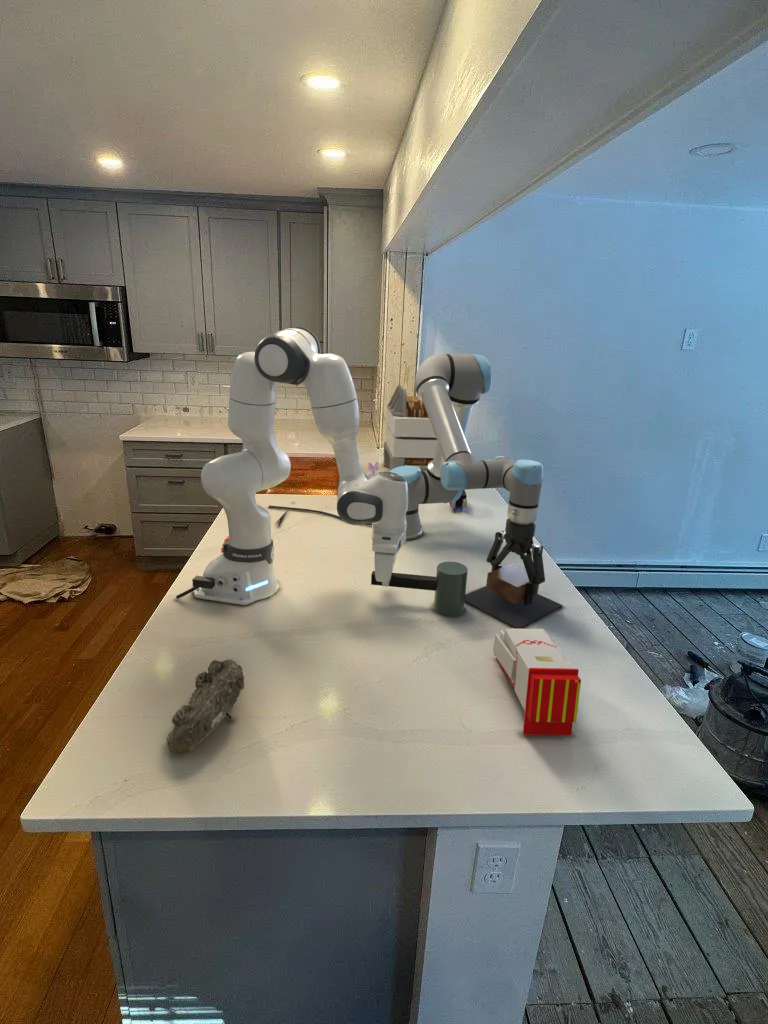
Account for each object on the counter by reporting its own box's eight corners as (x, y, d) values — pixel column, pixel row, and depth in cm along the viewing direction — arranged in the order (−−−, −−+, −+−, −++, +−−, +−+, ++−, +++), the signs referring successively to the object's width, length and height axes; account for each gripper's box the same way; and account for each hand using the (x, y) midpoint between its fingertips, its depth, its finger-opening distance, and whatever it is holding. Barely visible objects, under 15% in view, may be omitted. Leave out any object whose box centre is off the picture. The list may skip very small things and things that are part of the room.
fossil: (192, 660, 117) (244, 628, 112) (224, 691, 120) (276, 661, 115) (142, 746, 98) (202, 712, 93) (182, 779, 101) (242, 748, 96)
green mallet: (463, 602, 155) (467, 562, 151) (463, 617, 147) (467, 576, 143) (373, 594, 157) (374, 554, 153) (368, 608, 150) (370, 567, 146)
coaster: (458, 599, 156) (458, 597, 156) (503, 580, 169) (504, 578, 169) (517, 630, 142) (518, 628, 142) (562, 607, 155) (562, 605, 155)
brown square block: (485, 589, 155) (487, 573, 153) (508, 579, 161) (510, 563, 159) (515, 604, 148) (517, 587, 146) (537, 593, 154) (540, 577, 152)
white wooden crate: (382, 463, 289) (386, 382, 275) (445, 464, 293) (451, 384, 279) (390, 482, 257) (394, 392, 243) (460, 483, 261) (468, 394, 247)
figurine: (369, 502, 230) (370, 466, 225) (359, 494, 239) (360, 460, 234) (390, 499, 234) (391, 464, 229) (378, 492, 243) (380, 458, 238)
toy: (540, 612, 132) (590, 675, 102) (535, 665, 134) (582, 742, 105) (489, 611, 131) (523, 674, 102) (484, 665, 134) (517, 741, 105)
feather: (294, 505, 227) (296, 501, 226) (277, 528, 200) (280, 524, 199) (290, 503, 226) (292, 499, 226) (273, 526, 200) (276, 521, 199)
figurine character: (467, 516, 223) (461, 500, 237) (469, 499, 220) (463, 483, 233) (450, 516, 223) (446, 499, 236) (452, 498, 220) (447, 483, 233)
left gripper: (382, 519, 156) (380, 564, 161) (371, 548, 137) (369, 598, 142) (404, 521, 156) (402, 566, 160) (397, 550, 137) (394, 601, 141)
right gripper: (478, 510, 153) (470, 583, 161) (550, 536, 137) (538, 617, 145) (496, 505, 158) (487, 576, 165) (567, 530, 142) (554, 608, 149)
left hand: (386, 582), depth 151 cm, fingers closed on green mallet, 2 cm apart
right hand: (511, 595), depth 155 cm, fingers open, 10 cm apart
